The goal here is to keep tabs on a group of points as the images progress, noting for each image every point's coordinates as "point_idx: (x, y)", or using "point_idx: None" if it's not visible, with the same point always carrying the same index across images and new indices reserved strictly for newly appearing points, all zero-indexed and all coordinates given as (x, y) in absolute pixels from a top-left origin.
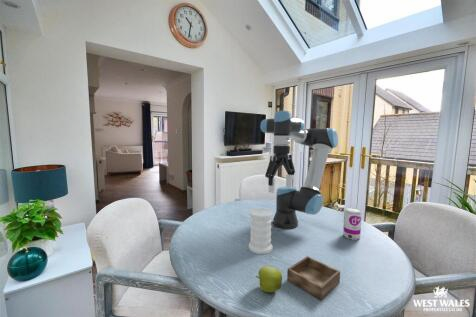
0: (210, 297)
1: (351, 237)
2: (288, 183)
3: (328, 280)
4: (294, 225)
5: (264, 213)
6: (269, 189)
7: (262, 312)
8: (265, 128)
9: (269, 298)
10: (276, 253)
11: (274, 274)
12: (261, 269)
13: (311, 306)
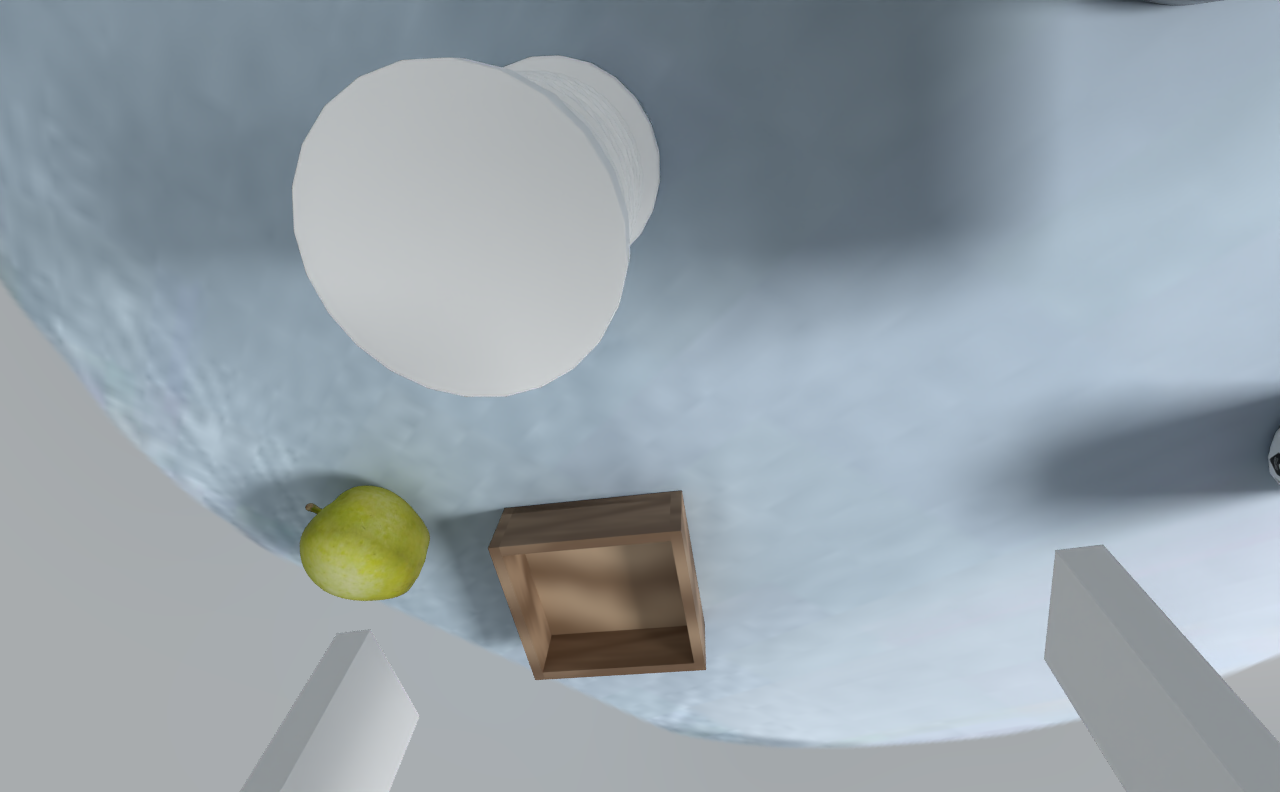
0: (115, 419)
1: (1277, 472)
2: (1124, 723)
3: (600, 672)
4: (1200, 2)
5: (475, 320)
6: (316, 699)
7: None
8: None
9: None
10: None
11: (356, 599)
12: (307, 551)
13: (493, 631)
